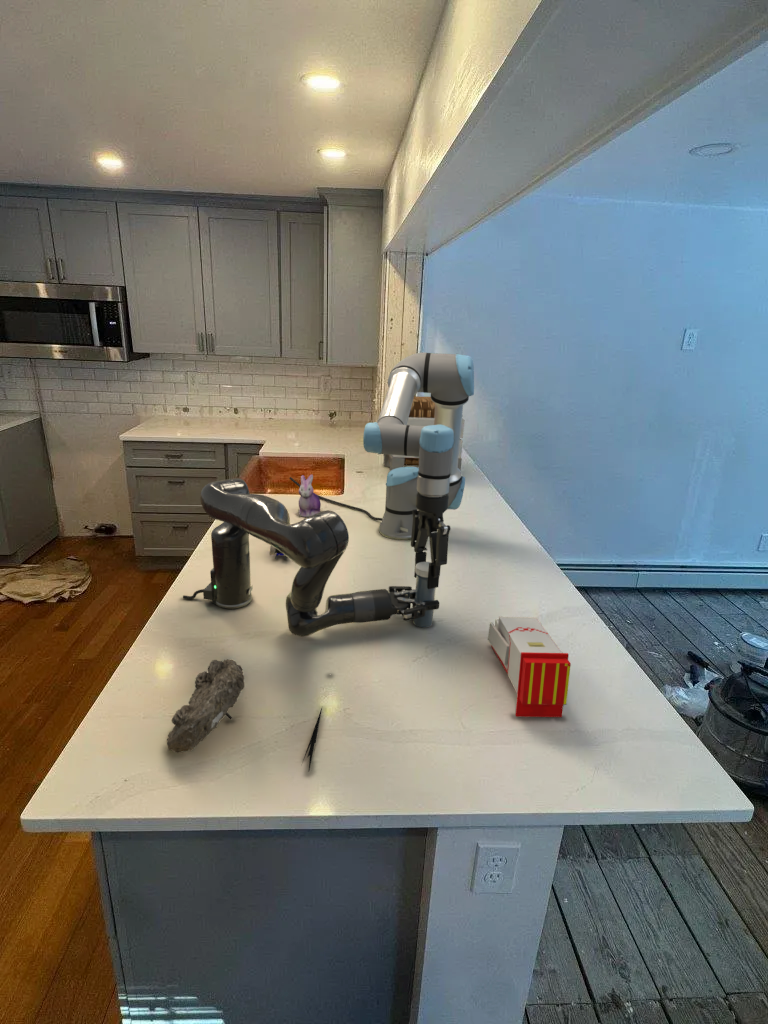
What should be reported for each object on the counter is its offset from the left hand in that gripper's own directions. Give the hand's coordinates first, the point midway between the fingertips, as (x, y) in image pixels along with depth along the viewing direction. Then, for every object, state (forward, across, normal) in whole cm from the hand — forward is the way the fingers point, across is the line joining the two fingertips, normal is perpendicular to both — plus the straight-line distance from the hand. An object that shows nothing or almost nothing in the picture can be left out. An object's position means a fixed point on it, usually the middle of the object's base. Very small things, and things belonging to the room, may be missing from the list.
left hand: (434, 599), depth 143 cm
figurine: (-18, +84, +6) cm, 86 cm away
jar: (-3, 0, +6) cm, 7 cm away
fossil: (-54, -24, +6) cm, 60 cm away
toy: (+11, -26, +6) cm, 29 cm away
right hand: (-3, 0, -5) cm, 6 cm away
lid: (-3, 0, -9) cm, 9 cm away
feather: (-35, -29, +6) cm, 46 cm away
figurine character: (-32, +49, +6) cm, 59 cm away
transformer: (+44, +131, +6) cm, 138 cm away
